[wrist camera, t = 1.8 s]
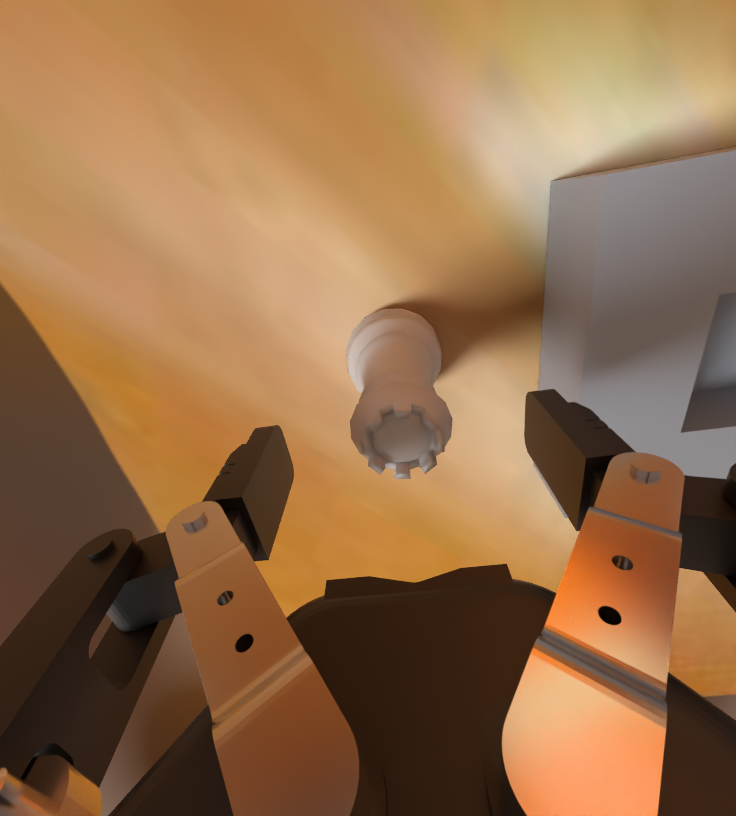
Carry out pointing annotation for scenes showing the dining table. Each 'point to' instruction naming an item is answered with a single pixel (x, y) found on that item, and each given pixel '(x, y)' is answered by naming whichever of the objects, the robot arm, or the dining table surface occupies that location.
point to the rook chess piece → (397, 392)
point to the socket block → (647, 306)
